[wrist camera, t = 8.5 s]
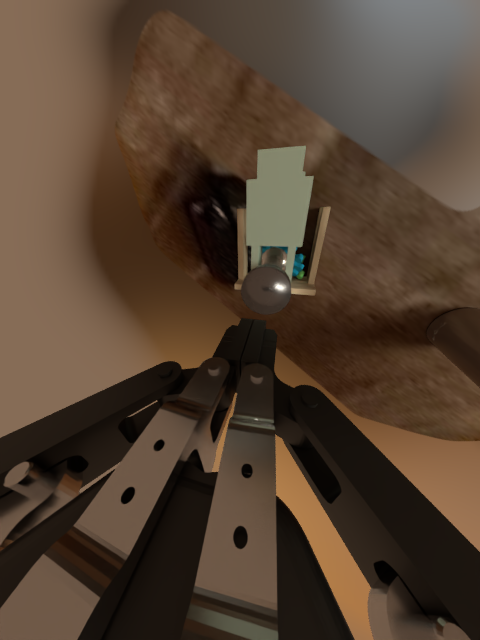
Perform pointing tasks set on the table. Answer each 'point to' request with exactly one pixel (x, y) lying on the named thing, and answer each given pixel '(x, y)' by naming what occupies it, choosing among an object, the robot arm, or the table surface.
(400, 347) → the table surface
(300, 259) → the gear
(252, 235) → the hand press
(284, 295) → the ram
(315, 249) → the tan open box
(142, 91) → the table surface
